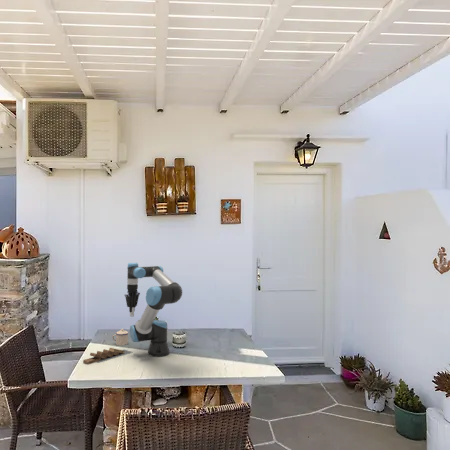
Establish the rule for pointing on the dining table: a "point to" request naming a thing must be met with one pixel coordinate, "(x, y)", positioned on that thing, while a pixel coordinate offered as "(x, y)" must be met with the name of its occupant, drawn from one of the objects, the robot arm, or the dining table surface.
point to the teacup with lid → (121, 337)
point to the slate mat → (115, 356)
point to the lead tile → (116, 350)
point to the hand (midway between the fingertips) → (131, 316)
